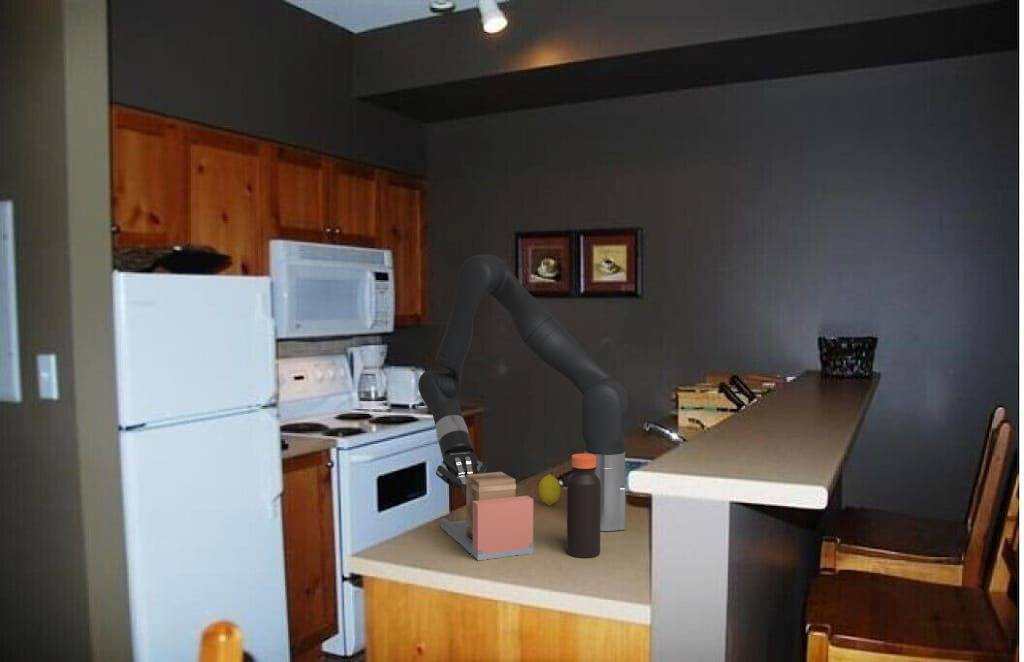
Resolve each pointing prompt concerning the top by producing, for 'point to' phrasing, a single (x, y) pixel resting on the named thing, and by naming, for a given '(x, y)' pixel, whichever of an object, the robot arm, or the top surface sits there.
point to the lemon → (549, 489)
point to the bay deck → (459, 534)
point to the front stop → (502, 524)
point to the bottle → (583, 508)
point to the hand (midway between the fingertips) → (471, 501)
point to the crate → (486, 492)
